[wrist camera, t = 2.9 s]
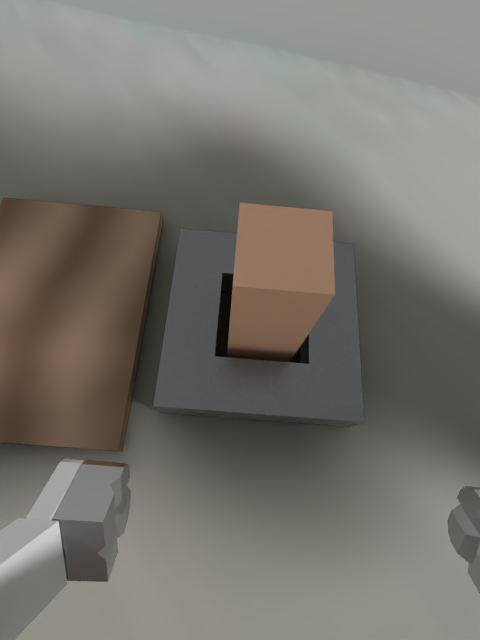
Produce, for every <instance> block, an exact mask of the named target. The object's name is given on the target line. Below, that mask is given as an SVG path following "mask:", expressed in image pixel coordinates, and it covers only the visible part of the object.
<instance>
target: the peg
mask: <svg viewBox="0 0 480 640" xmlns="http://www.w3.org/2000/svg"><path fill="white" fill-rule="evenodd" d="M334 296H335V275H334V247H333V218H332V211H326V210H315V209H304V208H293V207H282V206H271V205H260V204H249V203H239V216H238V228H237V240H236V252H235V264H234V276H233V288H232V300H231V312H230V324H229V337H228V349H227V357H228V358H241V359H253V360H266V361H279V362H290V361H291V359H292V358H293V356H294V355H295V353H296V352H297V350H298V349H299V347H300V346H301V344H302V343H303V342H304V340H305V339H306V337H307V336H308V334H309V333H310V331H311V330H312V328H313V327H314V325H315V324H316V322H317V321H318V319H319V318H320V316H321V315H322V313H323V312H324V310H325V309H326V308H327V306H328V305H329V303H330V302H331V300H332V299H333V297H334Z"/></svg>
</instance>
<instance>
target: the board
mask: <svg viewBox="0 0 480 640" xmlns="http://www.w3.org/2000/svg"><path fill="white" fill-rule="evenodd" d="M162 222H163V219H162V215H161V212H156V211H145V210H134V209H123V208H112V207H101V206H90V205H79V204H68V203H57V202H46V201H34V200H23V199H12V198H3V200H2V203H1V206H0V443H13V444H27V445H41V446H55V447H69V448H83V449H97V450H111V451H122V450H123V445H124V439H125V433H126V428H127V422H128V416H129V411H130V405H131V399H132V393H133V388H134V382H135V376H136V371H137V365H138V359H139V354H140V348H141V342H142V336H143V331H144V325H145V319H146V314H147V308H148V302H149V297H150V291H151V285H152V279H153V274H154V268H155V262H156V257H157V251H158V245H159V240H160V234H161V228H162Z"/></svg>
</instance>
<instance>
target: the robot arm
mask: <svg viewBox="0 0 480 640" xmlns="http://www.w3.org/2000/svg"><path fill="white" fill-rule="evenodd" d="M129 477H130V470H129V465H128V464H125V463H114V462H103V461H92V460H77V459H66V458H64V459H63V460H62V461H61V462H60V463H58V465H57V467H56V468H55V470H54V472H53V473H52V475H51V476H50V478H49V480H48V481H47V483H46V485H45V486H44V488H43V490H42V491H41V493H40V494H39V496H38V498H37V499H36V501H35V503H34V504H33V506H32V507H31V509H30V511H29V512H28V514H27V516H26V517H25V519H23V518H17V519H16V520H14V521H13V522H12V523H10V524H9V525H7V526H6V527H4V528H3V529H1V530H0V640H15V639H16V638H17V637H18V635H19V634H20V633H21V632H22V631H23V630H24V629H25V628H26V627H27V626H28V625H29V624H30V623H31V622H32V621H33V620H34V619H35V617H36V616H37V615H38V614H39V613H40V612H41V611H42V610H43V609H44V608H45V607H46V606H47V605H48V604H49V603H50V602H51V601H52V599H53V598H54V597H55V596H56V595H57V594H58V593H59V592H60V591H61V590H62V589H63V588H64V587H65V586H66V585H67V581H95V582H108V580H109V577H110V574H111V571H112V568H113V565H114V562H115V558H116V555H117V552H118V547H117V538H118V537H120V536H121V535H122V534H123V533H124V530H125V527H126V523H127V520H128V514H129V509H130V500H131V491H130V489H129V488H128V487H127V483H128V480H129ZM457 498H458V501H459V503H460V505H459V506H457V507H456V508H454V509H453V510H452V511H451V513H450V516H449V518H448V533H449V537H450V540H451V543H452V545H453V546H454V548H455V550H456V552H457V554H459V555H460V556H461V557H462V558H463V559H465V560H466V561H467V562H468V563H469V566H468V574H469V575H470V577H471V579H472V581H473V582H474V584H475V586H476V588H477V590H478V591H479V593H480V487H472V486H465V487H464V488H462V489H461V490H460V492H459V494H458V496H457Z"/></svg>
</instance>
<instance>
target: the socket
mask: <svg viewBox="0 0 480 640" xmlns="http://www.w3.org/2000/svg"><path fill="white" fill-rule="evenodd" d="M236 240H237V233H227V232H216V231H204V230H193V229H182V228H180V233H179V240H178V246H177V253H176V259H175V266H174V272H173V279H172V286H171V292H170V299H169V305H168V312H167V318H166V325H165V331H164V338H163V345H162V351H161V358H160V364H159V371H158V377H157V384H156V390H155V397H154V404H153V406H154V407H155V408H156V409H157V410H158V411H159V412H160V413H171V414H185V415H198V416H211V417H225V418H238V419H251V420H265V421H278V422H291V423H305V424H318V425H331V426H345V427H350V426H353V425H356V424H359V423H363V422H364V410H363V393H362V376H361V359H360V342H359V325H358V309H357V292H356V275H355V258H354V244H350V243H339V242H333V247H334V275H335V296H334V297H333V299H332V300H331V302H330V303H329V305H328V306H327V308H326V309H325V310H324V312H323V313H322V315H321V316H320V318H319V319H318V321H317V322H316V324H315V325H314V327H313V328H312V330H311V331H310V333H309V334H308V336H307V337H306V339H305V340H304V342H303V343H302V344H301V346H300V363H291V362H279V361H266V360H253V359H241V358H228V357H216V349H217V339H218V328H219V317H220V307H221V296H222V291H231V292H232V288H233V276H234V264H235V252H236Z"/></svg>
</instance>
